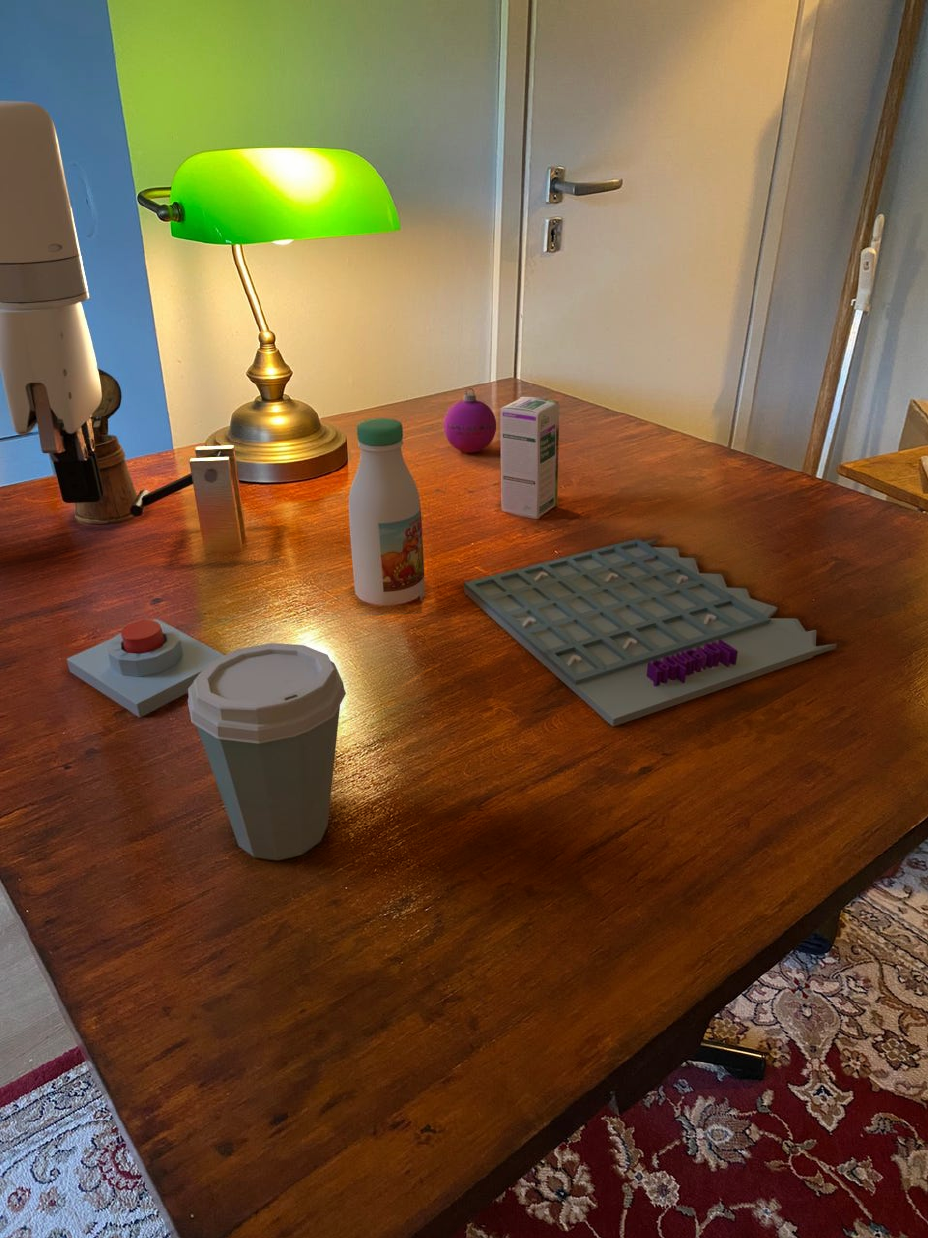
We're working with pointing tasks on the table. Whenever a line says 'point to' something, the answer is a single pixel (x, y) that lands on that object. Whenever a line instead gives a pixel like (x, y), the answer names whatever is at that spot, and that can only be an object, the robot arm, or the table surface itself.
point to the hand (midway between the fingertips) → (84, 498)
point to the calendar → (640, 627)
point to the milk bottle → (385, 519)
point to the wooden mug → (108, 464)
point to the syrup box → (529, 456)
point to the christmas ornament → (470, 424)
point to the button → (142, 636)
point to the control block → (144, 670)
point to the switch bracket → (218, 499)
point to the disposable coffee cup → (271, 742)
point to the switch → (162, 492)
